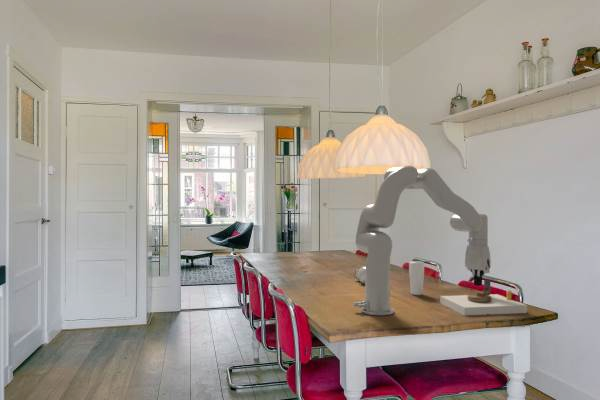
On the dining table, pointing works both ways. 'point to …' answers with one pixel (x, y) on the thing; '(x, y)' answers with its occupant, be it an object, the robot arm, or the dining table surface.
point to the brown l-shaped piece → (482, 294)
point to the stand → (484, 305)
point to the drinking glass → (416, 277)
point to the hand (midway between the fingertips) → (478, 285)
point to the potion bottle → (360, 274)
